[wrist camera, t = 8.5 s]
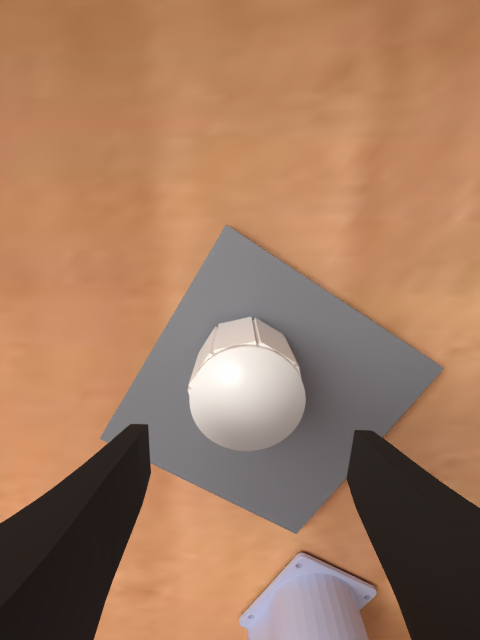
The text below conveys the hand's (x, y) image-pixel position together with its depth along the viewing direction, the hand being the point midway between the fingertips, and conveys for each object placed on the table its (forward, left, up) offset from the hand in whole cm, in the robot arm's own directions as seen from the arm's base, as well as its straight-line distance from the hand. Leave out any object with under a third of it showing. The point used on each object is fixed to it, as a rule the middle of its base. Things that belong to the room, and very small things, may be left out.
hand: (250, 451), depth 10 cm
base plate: (-2, -3, -9) cm, 10 cm away
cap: (0, 0, -8) cm, 8 cm away
